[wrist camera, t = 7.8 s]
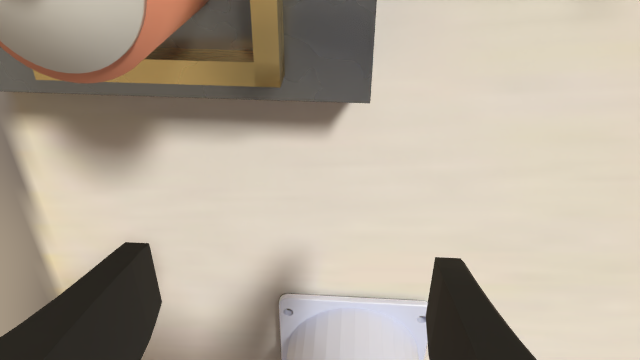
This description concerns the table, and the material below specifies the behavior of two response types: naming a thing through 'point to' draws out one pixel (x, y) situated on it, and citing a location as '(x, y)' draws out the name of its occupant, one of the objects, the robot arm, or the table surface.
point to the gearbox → (243, 55)
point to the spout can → (89, 34)
